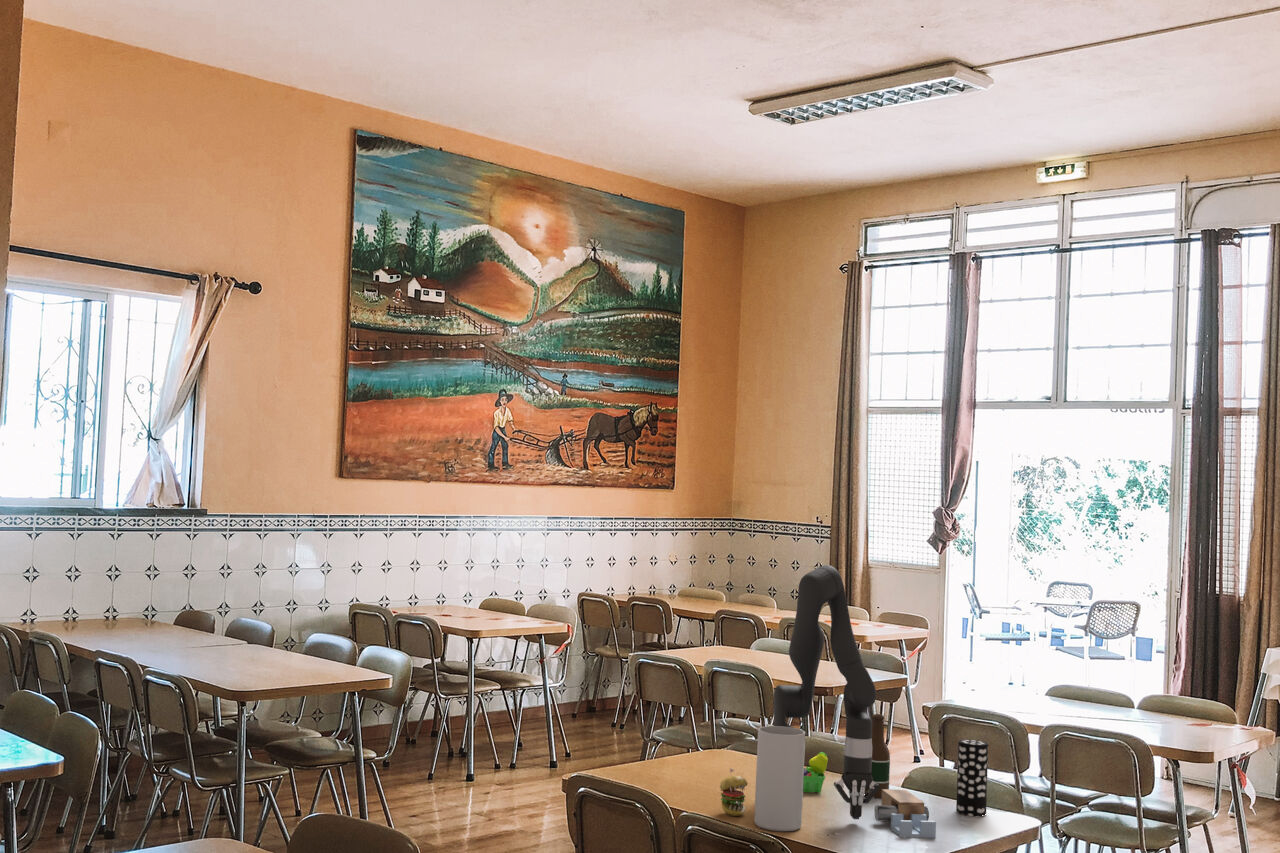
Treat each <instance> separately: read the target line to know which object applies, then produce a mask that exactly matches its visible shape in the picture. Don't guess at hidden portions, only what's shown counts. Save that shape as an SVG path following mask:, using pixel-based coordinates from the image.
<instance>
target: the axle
mask: <svg viewBox="0 0 1280 853" xmlns="http://www.w3.org/2000/svg"><path fill="white" fill-rule="evenodd" d="M891 813H894V814H898V806H893V805H881V804H880V805H879V804H875V806H874V817H875V820H876V821H877V822H879V821H880V822H881V821H883V822H891ZM924 814H926V815H927V821H929V819H930V811H929V808H928V806H927V805H926V806H925V805H924Z"/></svg>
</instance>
